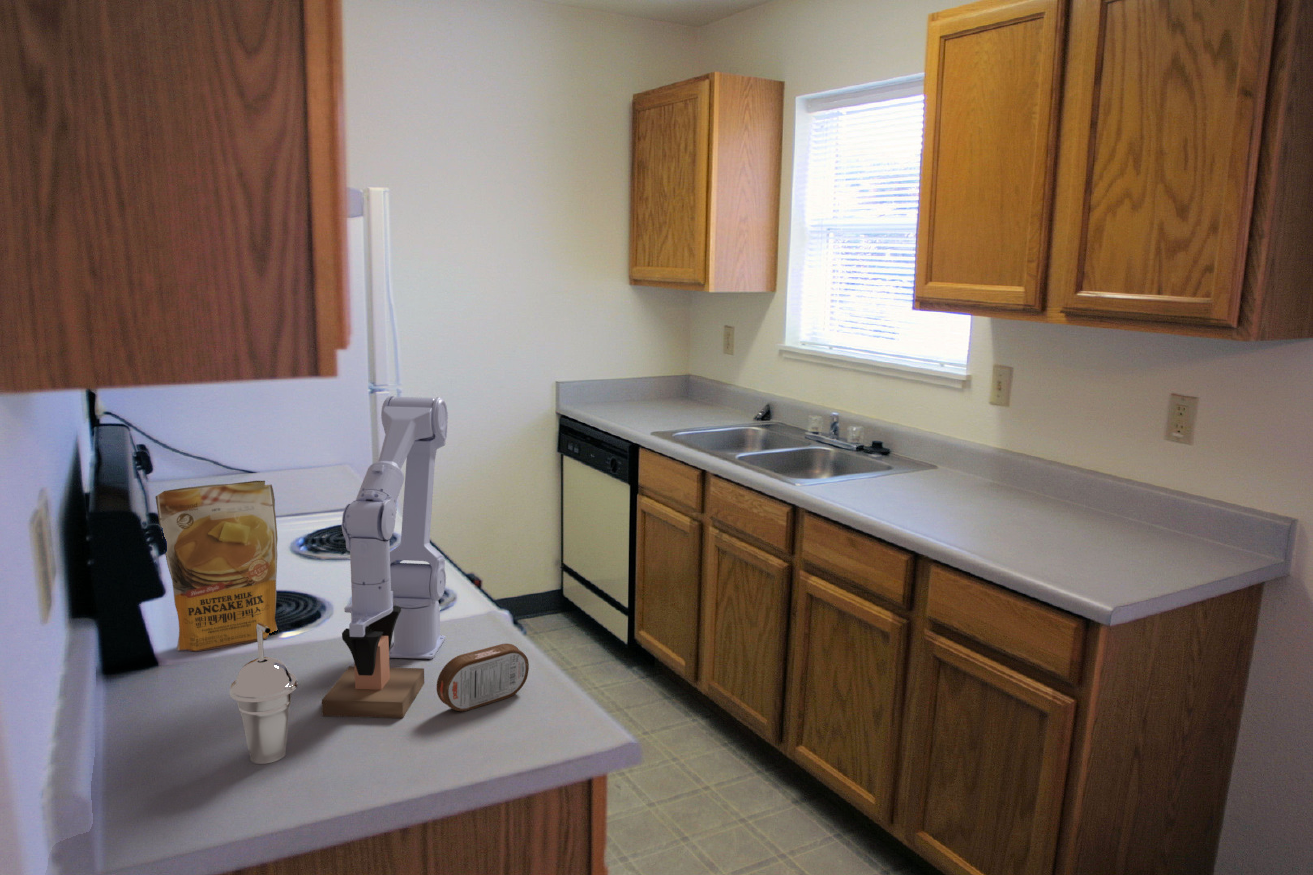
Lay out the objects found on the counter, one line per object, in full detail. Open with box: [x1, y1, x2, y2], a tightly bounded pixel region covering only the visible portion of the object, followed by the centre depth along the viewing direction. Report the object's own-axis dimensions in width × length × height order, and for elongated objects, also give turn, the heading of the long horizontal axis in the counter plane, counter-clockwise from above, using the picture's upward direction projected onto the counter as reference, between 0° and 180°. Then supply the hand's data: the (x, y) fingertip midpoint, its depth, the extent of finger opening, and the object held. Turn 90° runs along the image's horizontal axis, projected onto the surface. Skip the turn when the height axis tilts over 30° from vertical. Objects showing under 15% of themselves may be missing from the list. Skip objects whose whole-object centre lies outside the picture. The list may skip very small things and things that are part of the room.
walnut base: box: [321, 665, 425, 719], centre depth 146 cm, size 12×12×2 cm
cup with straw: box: [229, 622, 299, 765], centre depth 127 cm, size 8×9×20 cm
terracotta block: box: [353, 636, 390, 690], centre depth 145 cm, size 4×4×7 cm
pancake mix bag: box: [154, 480, 279, 653], centre depth 165 cm, size 7×19×28 cm, turn 122°
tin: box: [435, 642, 530, 712], centre depth 145 cm, size 15×3×8 cm, turn 130°
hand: (374, 663), depth 145 cm, fingers open, 7 cm apart
